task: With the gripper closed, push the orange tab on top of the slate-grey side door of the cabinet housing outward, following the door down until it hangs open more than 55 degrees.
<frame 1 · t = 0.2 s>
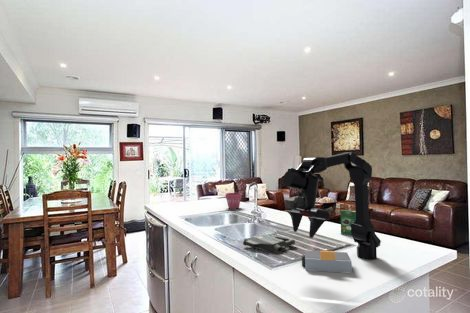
hand: (302, 234, 95), 15 cm above the worktop, tool pointing down, fingers open, 9 cm apart
door: (327, 261, 97), point 4 cm above the worktop, hinge at 0.0°
plant pot: (233, 208, 233), on the worktop
cabinet housing: (326, 268, 102), on the worktop
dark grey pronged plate: (271, 248, 126), on the worktop
coffee box: (349, 235, 144), on the worktop
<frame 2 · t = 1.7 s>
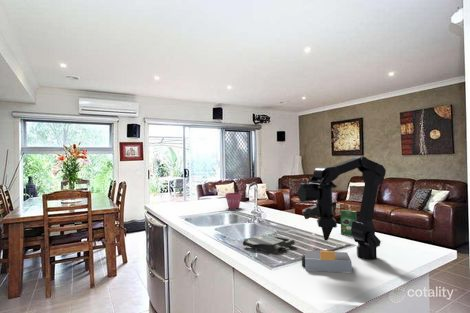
hand: (325, 240, 103), 10 cm above the worktop, tool pointing down, fingers closed
nothing on the worktop moved.
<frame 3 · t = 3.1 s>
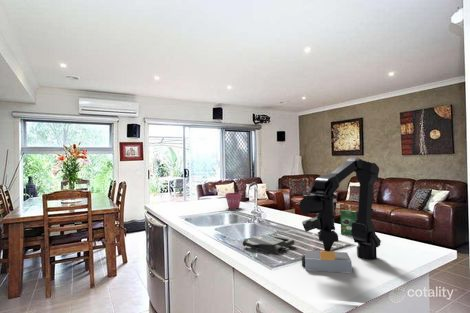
hand: (326, 253, 98), 7 cm above the worktop, tool pointing down, fingers closed
door: (327, 261, 97), point 4 cm above the worktop, hinge at 0.0°, touching gripper
everything else where it was.
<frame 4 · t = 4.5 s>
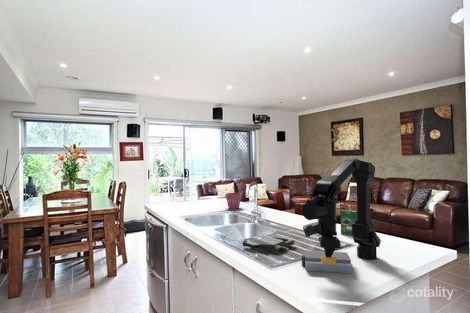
hand: (328, 260, 94), 6 cm above the worktop, tool pointing down, fingers closed, pressing on door
door: (328, 265, 95), point 4 cm above the worktop, hinge at 30.7°, touching gripper
everything else where it was.
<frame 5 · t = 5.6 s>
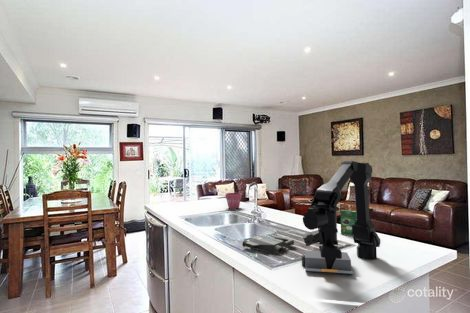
hand: (328, 269, 92), 3 cm above the worktop, tool pointing down, fingers closed, pressing on door
door: (328, 270, 94), point 2 cm above the worktop, hinge at 66.2°, touching gripper
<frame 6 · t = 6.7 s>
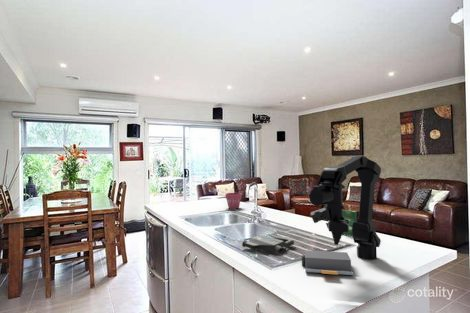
hand: (336, 244, 97), 10 cm above the worktop, tool pointing down, fingers closed
door: (328, 271, 94), point 2 cm above the worktop, hinge at 71.6°
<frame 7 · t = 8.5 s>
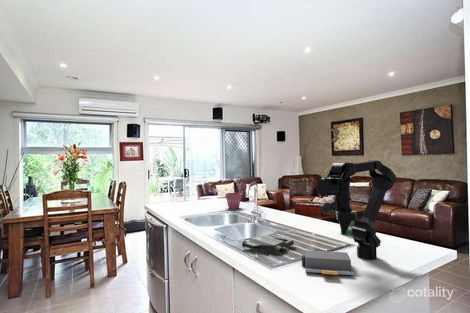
hand: (343, 234, 104), 12 cm above the worktop, tool pointing down, fingers closed
door: (328, 271, 94), point 2 cm above the worktop, hinge at 72.1°
at the end: door at +72° (first picture: +0°); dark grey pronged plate moved 1.9 cm from its start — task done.
